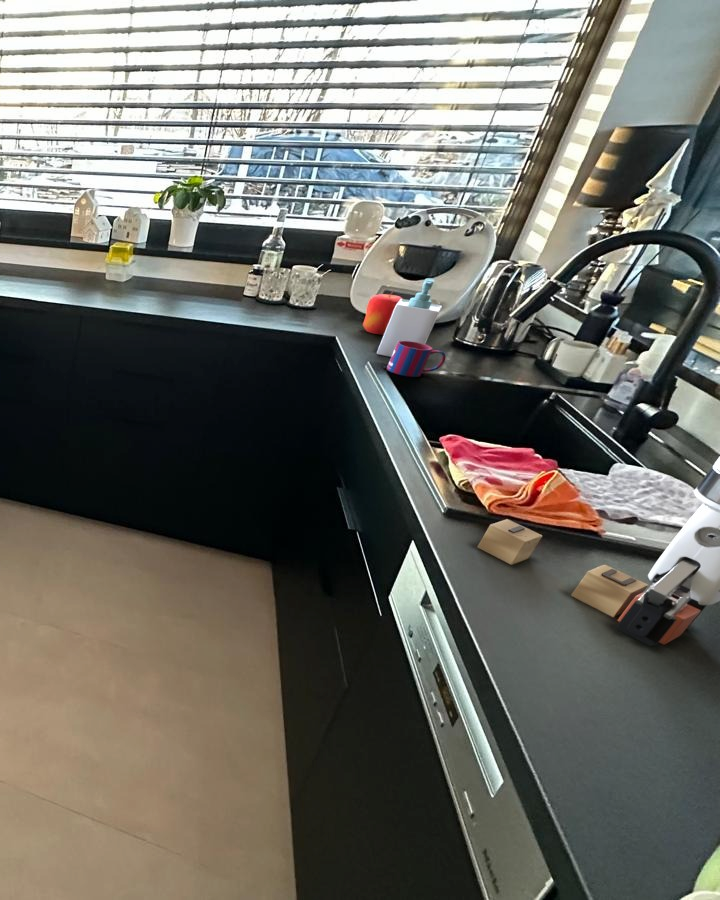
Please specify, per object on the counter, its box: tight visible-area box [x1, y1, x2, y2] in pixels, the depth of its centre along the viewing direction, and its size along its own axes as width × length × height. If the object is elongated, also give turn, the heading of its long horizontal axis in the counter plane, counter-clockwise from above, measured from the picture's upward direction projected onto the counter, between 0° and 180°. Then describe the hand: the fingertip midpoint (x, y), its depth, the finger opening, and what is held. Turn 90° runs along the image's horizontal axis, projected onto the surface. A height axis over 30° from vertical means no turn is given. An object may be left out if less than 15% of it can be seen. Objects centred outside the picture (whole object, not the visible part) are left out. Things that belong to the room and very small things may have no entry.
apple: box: [362, 291, 404, 336], centre depth 175 cm, size 9×8×12 cm
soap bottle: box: [376, 277, 442, 358], centre depth 155 cm, size 9×9×19 cm
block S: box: [617, 591, 702, 645], centre depth 70 cm, size 4×4×4 cm
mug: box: [386, 341, 447, 378], centre depth 145 cm, size 7×10×7 cm
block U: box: [570, 564, 649, 618], centre depth 74 cm, size 4×4×4 cm
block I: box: [477, 518, 543, 566], centre depth 82 cm, size 4×4×4 cm
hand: (651, 627), depth 71 cm, fingers open, 7 cm apart
